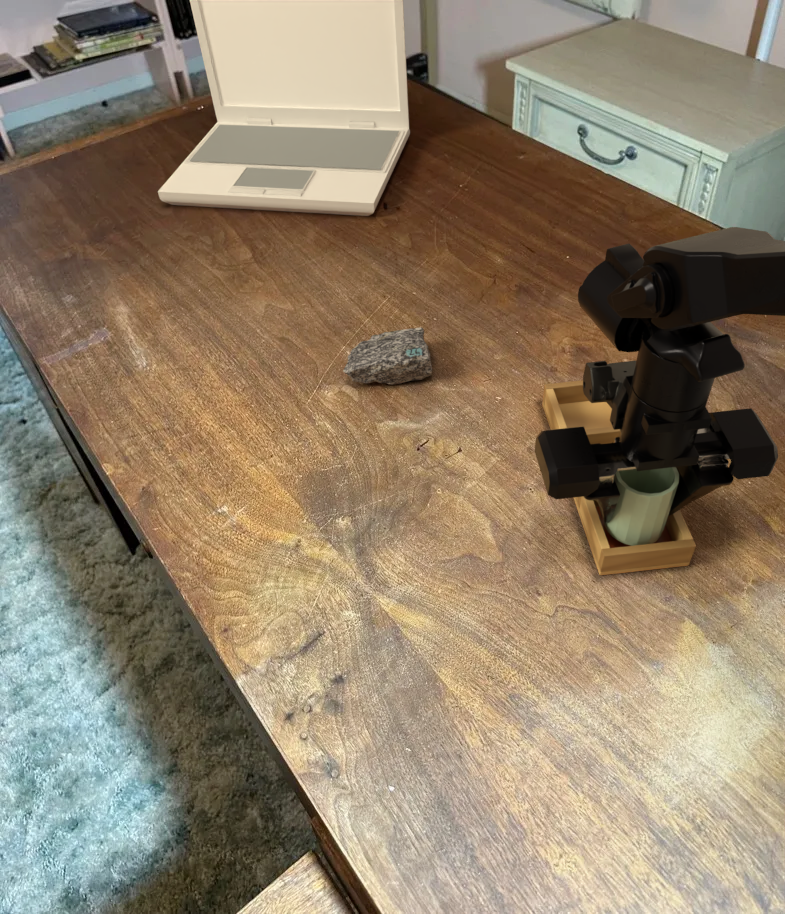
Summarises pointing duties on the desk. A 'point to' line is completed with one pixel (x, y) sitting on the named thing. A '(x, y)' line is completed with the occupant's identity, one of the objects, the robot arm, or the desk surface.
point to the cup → (642, 504)
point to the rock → (390, 358)
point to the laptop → (298, 106)
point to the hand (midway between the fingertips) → (635, 515)
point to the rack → (610, 555)
